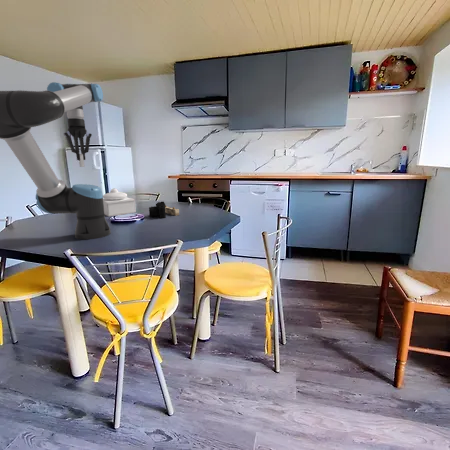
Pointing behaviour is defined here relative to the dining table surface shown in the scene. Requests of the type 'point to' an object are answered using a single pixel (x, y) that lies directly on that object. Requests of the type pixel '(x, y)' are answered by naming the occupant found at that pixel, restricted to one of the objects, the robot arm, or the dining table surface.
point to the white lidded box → (118, 203)
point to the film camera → (158, 210)
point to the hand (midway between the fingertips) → (82, 166)
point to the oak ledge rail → (172, 211)
